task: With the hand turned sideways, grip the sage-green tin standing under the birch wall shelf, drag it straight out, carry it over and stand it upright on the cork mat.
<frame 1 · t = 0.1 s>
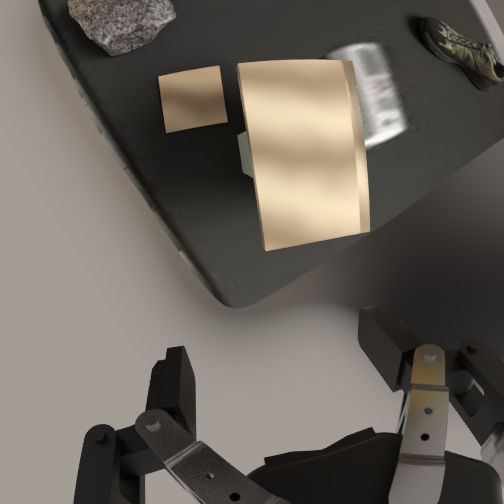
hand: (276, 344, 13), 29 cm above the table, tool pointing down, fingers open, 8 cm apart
hiking shoe: (453, 55, 36), on the table
mat: (192, 98, 34), on the table
tin: (258, 151, 38), on the table
shelf: (269, 149, 38), on the table
rock: (124, 15, 28), on the table
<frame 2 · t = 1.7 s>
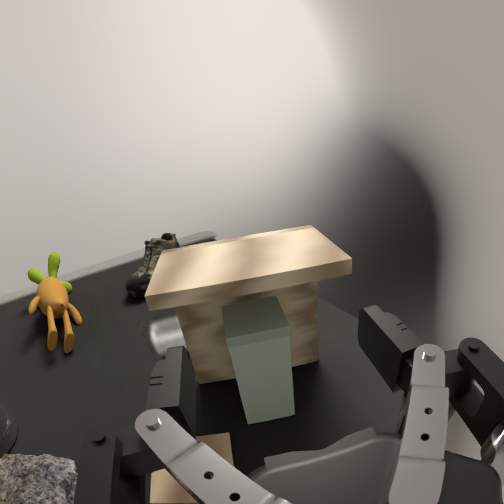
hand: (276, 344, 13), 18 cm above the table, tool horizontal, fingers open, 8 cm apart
hiking shoe: (159, 279, 66), on the table
mat: (192, 469, 22), on the table
tin: (267, 403, 30), on the table
shelf: (264, 393, 31), on the table
toy: (55, 322, 51), on the table
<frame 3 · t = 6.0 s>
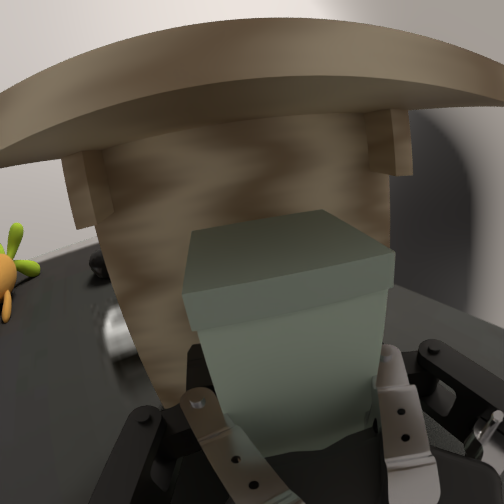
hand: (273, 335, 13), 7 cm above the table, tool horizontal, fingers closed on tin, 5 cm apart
hiking shoe: (135, 257, 49), on the table
tin: (294, 451, 13), on the table, touching gripper
shelf: (288, 432, 15), on the table
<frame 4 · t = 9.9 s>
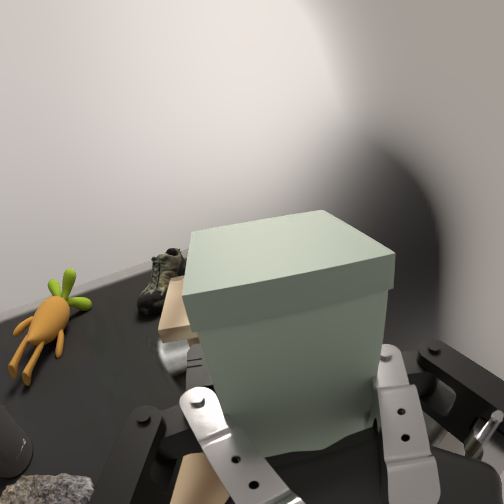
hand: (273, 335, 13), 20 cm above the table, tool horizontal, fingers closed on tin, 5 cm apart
hiking shoe: (167, 295, 66), on the table
mat: (205, 483, 23), on the table
tin: (294, 452, 13), point 14 cm above the table, touching gripper
shelf: (272, 409, 32), on the table
toy: (52, 342, 51), on the table
when the fingers open (7 cm above the table, at t = 14.0 s): tin stays where it is, resting on mat.
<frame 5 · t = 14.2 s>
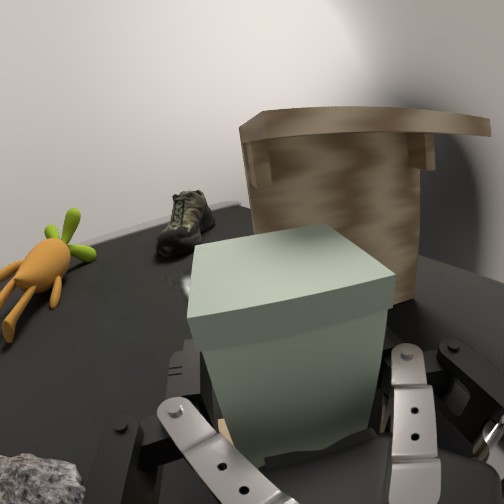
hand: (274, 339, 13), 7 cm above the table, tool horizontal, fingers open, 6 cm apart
hiking shoe: (189, 240, 57), on the table
tin: (295, 457, 13), resting on mat
shelf: (365, 338, 23), on the table
toy: (45, 295, 41), on the table
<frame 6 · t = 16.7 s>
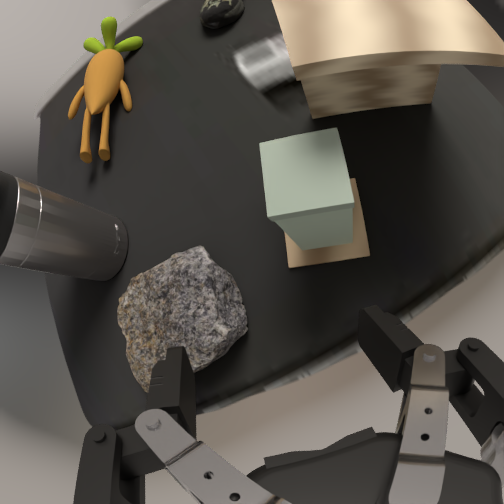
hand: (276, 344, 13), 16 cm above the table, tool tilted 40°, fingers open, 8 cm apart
hiking shoe: (229, 4, 42), on the table
mat: (323, 222, 29), on the table
tin: (323, 221, 29), resting on mat
shelf: (383, 133, 28), on the table
rock: (189, 321, 32), on the table
toy: (113, 98, 46), on the table
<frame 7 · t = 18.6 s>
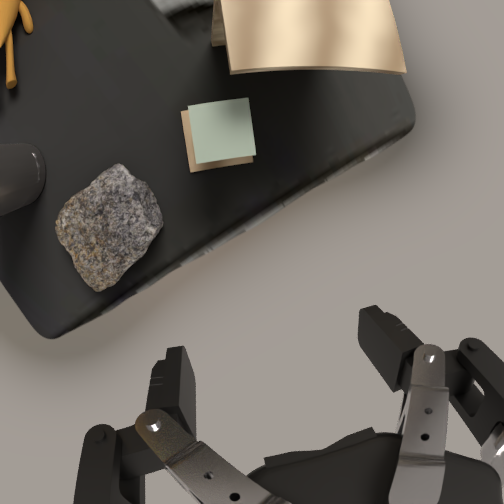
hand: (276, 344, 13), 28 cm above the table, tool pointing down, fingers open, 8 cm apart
mat: (217, 136, 35), on the table
tin: (217, 136, 35), resting on mat
shelf: (273, 64, 33), on the table
rock: (113, 223, 37), on the table
toy: (8, 19, 22), on the table
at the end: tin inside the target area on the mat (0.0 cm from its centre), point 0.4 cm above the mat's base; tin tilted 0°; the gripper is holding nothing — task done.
